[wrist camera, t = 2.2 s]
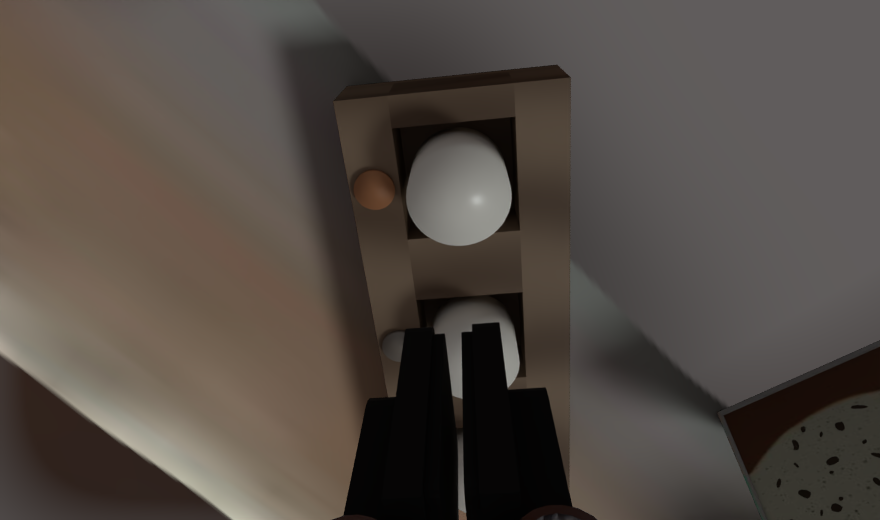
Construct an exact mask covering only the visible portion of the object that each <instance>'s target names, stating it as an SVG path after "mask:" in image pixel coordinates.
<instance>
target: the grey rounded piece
mask: <svg viewBox="0 0 880 520" xmlns="http://www.w3.org/2000/svg"><path fill="white" fill-rule="evenodd" d="M511 199H512V193H511V186H510V182H509V178H508V174H507V170H506V166H505V162H504V158H503V156H502V154H501V152H500V150H499V148H498V147H497V145H496V144H495V143H494V142H493V141H492V140H491V139H490V138H489V137H487V136H486V135H484V134H483V133H481V132H479V131H476V130H474V129H469V128H463V127H454V128H448V129H444V130H441V131H439V132H437V133H435V134H433V135H432V136H430V137H429V138H428V139H427V140H425V142H424V143H423V144H422V145H421V146H420V148H419V149H418V151H417V152H416V154H415V157H414V160H413V163H412V168H411V172H410V176H409V181H408V185H407V190H406V203H407V208H408V211H409V214H410V216H411V218H412V220H413V222H414V223H415V225H416V226H417V227H418V228H419V229H420V231H421V232H423V233H424V234H425V235H426V236H428V237H429V238H431V239H433V240H435V241H437V242H440V243H442V244H446V245H453V246H465V245H471V244H475V243H478V242H480V241H483V240H484V239H486V238H488V237H489V236H491V235H492V234H494V233H495V232H496V231H497V230H498V229H499V228H500V226H501V225H502V224H503V222H504V221H505V219H506V217H507V215H508V213H509V210H510V206H511Z"/></svg>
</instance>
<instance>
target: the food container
mask: <svg viewBox="0 0 880 520" xmlns="http://www.w3.org/2000/svg"><path fill="white" fill-rule="evenodd" d="M717 414H718V416H719V419H720V421H721V424H722V426H723V428H724V431H725V433H726V435H727V438H728V440H729V443H730V445H731V447H732V450H733V452H734V454H735V457H736V459H737V462H738V464H739V466H740V469H741V471H742V473H743V476H744V478H745V481H746V483H747V485H748V488H749V490H750V492H751V495H752V497H753V499H754V502H755V504H756V507H757V509H758V511H759V514H760V516H761V518H762V520H880V340H879V341H877V342H875V343H873V344H870V345H868V346H866V347H864V348H861V349H859V350H857V351H855V352H852V353H850V354H848V355H846V356H843V357H841V358H839V359H837V360H834V361H832V362H830V363H828V364H825V365H823V366H821V367H819V368H816V369H814V370H812V371H810V372H807V373H805V374H803V375H801V376H798V377H796V378H794V379H791V380H789V381H787V382H785V383H782V384H780V385H778V386H776V387H773V388H771V389H769V390H767V391H764V392H762V393H760V394H758V395H755V396H753V397H751V398H749V399H746V400H744V401H742V402H740V403H737V404H735V405H733V406H730V407H728V408H726V409H724V410H721V411H719V412H717Z"/></svg>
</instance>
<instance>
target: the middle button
mask: <svg viewBox="0 0 880 520" xmlns="http://www.w3.org/2000/svg"><path fill="white" fill-rule="evenodd" d="M493 322H499V323H500V331H501V339H502V347H503V355H504V363H505V371H506V379H507V387H509V386H510V385H511V384H512V383H513V381H514V380H515V378H516V376H517V374H518V371H519V364H520V362H519V355H518V348H517V342H516V336H515V330H514V324H513V319H512V316H511V314H510V312H509V311H508V309H507V308H506V307H505V306H504V305H503V304H502V303H501V302H500V301H498V300H496V299H495V298H493V297H490V296H487V295H478V296H464V297H453V298H451V299H449V300H448V301H446V302H445V303H444V304H443V305H442V306H441V307H440V308H439V309H438V310H437V312H436V313H435V315H434V318H433V321H432V327H434V331H435V334H442V333H444V334H445V338H446V346H447V355H448V363H449V372H450V380H451V388H452V396H455V397H458V398H461V399H462V341H461V333H462V332H471V331H472V324H479V323H493Z"/></svg>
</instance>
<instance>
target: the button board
mask: <svg viewBox="0 0 880 520" xmlns="http://www.w3.org/2000/svg"><path fill="white" fill-rule="evenodd" d="M570 87H571V77H570V76H569V75H568V74H566V73H565V72H564V71H563V70H562V69H561V68H560V67H559V66H558V65H550V66H540V67H531V68H520V69H511V70H501V71H491V72H481V73H472V74H462V75H452V76H442V77H432V78H423V79H413V80H404V81H393V82H384V83H374V84H364V85H354V86H347V87H346V88H345V89H344V90H343V91H342V92H341V93H340V94H339V95H338V97H337V98H336V99H335V100H334V101H333V104H334V109H335V115H336V120H337V125H338V131H339V136H340V142H341V147H342V152H343V158H344V163H345V168H346V174H347V179H348V185H349V190H350V195H351V201H352V206H353V211H354V217H355V222H356V228H357V233H358V238H359V244H360V249H361V254H362V260H363V265H364V271H365V276H366V281H367V287H368V292H369V298H370V303H371V308H372V314H373V319H374V324H375V330H376V335H377V341H378V346H379V351H380V357H381V362H382V367H383V373H384V378H385V384H386V389H387V394H388V397H396V391H397V384H398V376H399V369H400V362H401V355H402V348H403V341H404V334H405V329H409V328H423V327H432V321H433V318H434V315H435V313H436V312H437V310H438V309H439V308H440V307H441V306H442V305H443V304H444V303H445V302H446V301H448V300H449V299H451V298H453V297H464V296H478V295H487V296H490V297H493V298H495V299H496V300H498V301H500V302H501V303H502V304H503V305H504V306H505V307H506V308H507V309H508V311H509V312H510V314H511V316H512V319H513V324H514V330H515V336H516V342H517V348H518V355H519V362H520V364H519V371H518V374H517V376H516V378H515V380H514V381H513V383H512V384H511V385H510V386H509V387H508V390H510V389H526V388H542V387H546V389H547V393H548V397H549V401H550V406H551V411H552V415H553V420H554V424H555V429H556V434H557V438H558V443H559V448H560V452H561V457H562V461H563V466H564V471H565V475H566V480H567V484H568V489H569V431H570V112H571V110H570V109H571V106H570V104H571V102H570V100H571V99H570V98H571V97H570V96H571V91H570V90H571V88H570ZM454 127H463V128H469V129H474V130H476V131H479V132H481V133H483V134H484V135H486V136H487V137H489V138H490V139H491V140H492V141H493V142H494V143H495V144H496V145H497V147H498V148H499V150H500V152H501V154H502V156H503V158H504V162H505V166H506V170H507V174H508V178H509V182H510V186H511V193H512V199H511V206H510V210H509V213H508V215H507V217H506V219H505V221H504V222H503V224H502V225H501V226H500V228H499V229H498V230H497V231H496V232H495V233H494V234H492V235H491V236H489V237H488V238H486V239H484V240H483V241H480V242H478V243H475V244H471V245H465V246H453V245H446V244H442V243H440V242H437V241H435V240H433V239H431V238H429V237H428V236H426V235H425V234H424V233H423V232H421V231H420V229H419V228H418V227H417V226H416V225H415V223H414V222H413V220H412V218H411V216H410V214H409V211H408V208H407V203H406V190H407V185H408V181H409V176H410V172H411V168H412V163H413V160H414V157H415V154H416V152H417V151H418V149H419V148H420V146H421V145H422V144H423V143H424V142H425V140H427V139H428V138H429V137H430V136H432V135H433V134H435V133H437V132H439V131H441V130H444V129H448V128H454ZM452 397H453V405H454V414H455V422H456V429H457V428H463V406H462V399H461V398H458V397H455V396H452Z"/></svg>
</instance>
